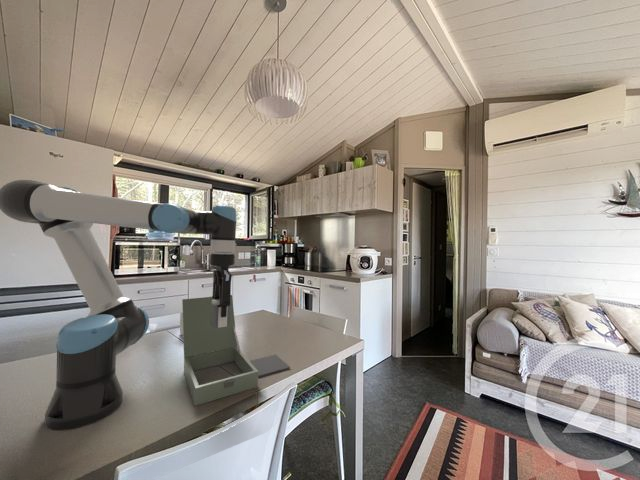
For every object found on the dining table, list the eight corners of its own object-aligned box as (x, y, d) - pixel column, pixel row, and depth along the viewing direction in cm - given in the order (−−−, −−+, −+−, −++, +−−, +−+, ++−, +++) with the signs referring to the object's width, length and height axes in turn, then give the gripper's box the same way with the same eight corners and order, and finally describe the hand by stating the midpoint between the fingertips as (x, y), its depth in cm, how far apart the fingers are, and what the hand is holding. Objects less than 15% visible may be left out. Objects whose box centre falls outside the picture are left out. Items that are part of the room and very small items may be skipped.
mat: (258, 377, 87) (258, 375, 87) (245, 363, 97) (246, 361, 97) (290, 368, 94) (290, 366, 94) (275, 355, 104) (275, 354, 104)
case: (195, 407, 71) (197, 322, 71) (180, 361, 97) (182, 299, 97) (258, 387, 82) (260, 313, 82) (229, 350, 107) (231, 294, 107)
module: (213, 328, 82) (214, 303, 82) (210, 323, 87) (210, 299, 87) (230, 326, 85) (231, 301, 85) (225, 321, 90) (226, 298, 90)
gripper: (243, 255, 81) (240, 330, 81) (226, 251, 96) (224, 315, 96) (217, 255, 76) (214, 334, 76) (204, 251, 91) (201, 318, 91)
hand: (219, 323), depth 86 cm, fingers closed on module, 5 cm apart
